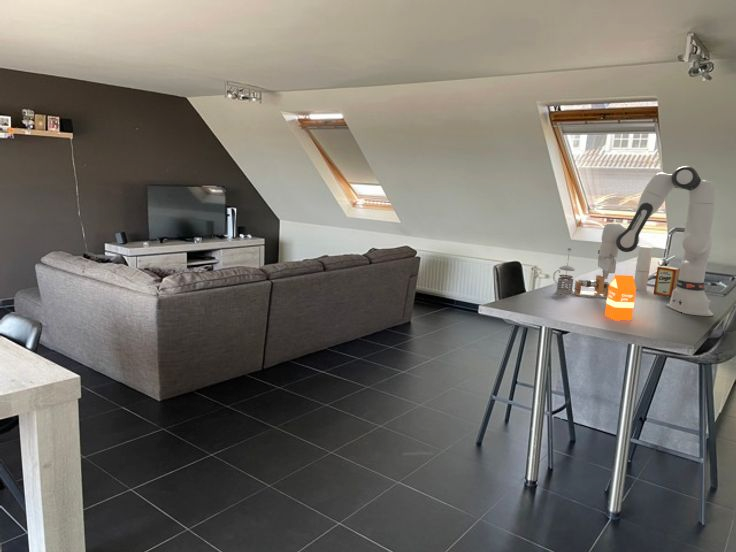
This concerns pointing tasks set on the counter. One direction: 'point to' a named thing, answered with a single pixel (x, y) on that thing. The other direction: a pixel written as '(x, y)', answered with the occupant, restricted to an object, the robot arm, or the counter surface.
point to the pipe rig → (590, 284)
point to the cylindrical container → (643, 267)
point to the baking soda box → (666, 280)
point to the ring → (600, 284)
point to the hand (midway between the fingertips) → (604, 278)
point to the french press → (565, 281)
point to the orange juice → (621, 298)
